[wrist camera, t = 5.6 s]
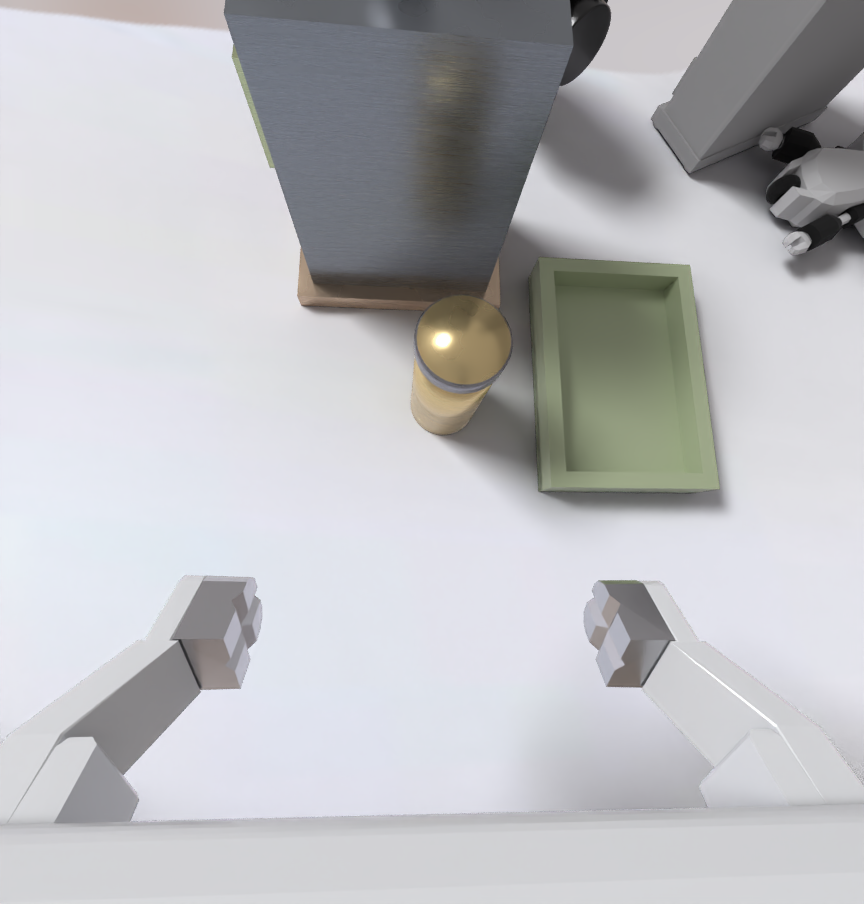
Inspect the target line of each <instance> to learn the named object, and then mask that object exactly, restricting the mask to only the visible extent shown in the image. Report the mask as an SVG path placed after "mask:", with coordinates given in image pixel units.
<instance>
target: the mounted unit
mask: <svg viewBox="0 0 864 904" xmlns="http://www.w3.org/2000/svg"><path fill="white" fill-rule="evenodd" d="M224 15H225V18H226V21H227V24H228V27H229V31H230V34H231V37H232V40H233V43H234V45H233V53H232V59H233V62H234V65H235V68H236V70H237V73H238V76H239V79H240V82H241V85H242V88H243V91H244V94H245V97H246V99H247V102H248V105H249V108H250V111H251V114H252V117H253V120H254V123H255V126H256V129H257V131H258V134H259V137H260V140H261V143H262V146H263V149H264V152H265V155H266V158H267V160H268V163H269V166H270V168H275V169H276V172H277V176H278V179H279V182H280V185H281V188H282V191H283V194H284V197H285V200H286V203H287V206H288V209H289V212H290V215H291V218H292V221H293V224H294V227H295V230H296V233H297V236H298V239H299V242H300V245H301V252H300V266H299V280H298V294H297V296H298V299H299V301H300V304H301V305H304V306H327V307H351V308H374V309H398V310H421V311H425V310H426V309H427V308H428V307H429V306H430V305H431V304H433V303H434V302H436V301H437V300H439V299H442V298H444V297H447V296H451V295H471V296H475V297H478V298H481V299H483V300H485V301H487V302H489V303H490V304H492V305H493V306H495V307H496V308H497V309H499V307H500V278H499V254H500V251H501V248H502V245H503V242H504V240H505V237H506V234H507V231H508V228H509V226H510V223H511V220H512V217H513V214H514V212H515V209H516V206H517V203H518V200H519V198H520V195H521V192H522V189H523V186H524V184H525V181H526V178H527V175H528V172H529V169H530V167H531V164H532V161H533V158H534V155H535V153H536V150H537V147H538V144H539V141H540V139H541V136H542V133H543V130H544V127H545V125H546V122H547V119H548V116H549V113H550V111H551V108H552V105H553V102H554V99H555V97H556V94H557V91H558V88H559V85H560V83H561V80H562V77H563V74H564V71H565V68H566V66H567V63H568V60H569V57H570V54H571V52H572V49H573V46H574V45H573V32H572V20H571V8H570V0H226V1H225V9H224Z"/></svg>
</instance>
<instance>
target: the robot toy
mask: <svg viewBox="0 0 864 904" xmlns="http://www.w3.org/2000/svg"><path fill="white" fill-rule="evenodd" d="M758 143H759V147H760V148H762V149H763V150H765V151H771V150H774V151H773V154H772V159H775V160H778V161H781V162H784V163H787V164H788V165H787V166H786V167H785V168H784V169H783V171H782V172H781V173H780V174H779V175H778V176H777V177H776V178H775V179H774V180H773V181H772V182H771V183H770V184H769V185H768V188H767V191H766V198H767V200H768V201H769V202H770V203H771V204H774V205H773V206H772V207H771V208H770V211H771V212H772V213H773V214H774V215H775V217H777V218H781V219H785V220H788V221H789V223H790V224H791V226H792V227H801V228H799V229H798V230H797V232H793V233H790V234H789V235H788V236H787V237H785V239H784V241H783V245H784V247H785V248H786V247H787V246H789V245H792V248H791V249H790V250H788V252H789V253H790V254H791V255H793V256H794V255H798V254H802V253H806V252H807V251H809V250H811V249H814V248H816V247H817V246H819V245H821V244H823V243H825V242H827V241H829V240H831V239H832V238H833V237H834V236H835V235H836V234H837V233H838V232H839V230H840V229H841V227H842V228H843V229H845V228H847V227H849V226H851V225H853V224H854V226H855V227H856V229H857V230H858V232H859V233H860V234H861V236H862V237H863V238H864V133H863V134H861V135H860V137H858V138H857V139H856V140H855V141H854V142H853V143H852V144H851V145H850V146H849V147H848V148H843V147H840V146H837V147H835V148H821V146H820V144H819V142H818V140H817V138H816V137H815V135H814V133H811V132H808V131H805V130H802V129H799V128H795V127H791V128H790V129H789V130H788V131H787V132H786V133H785V134H783V133H782V132H781V131H780V130H779V129H778V128H773V127H769V128H767V129H765V130H764V131H763V132H762V134H761V136H760V140H759V142H758Z"/></svg>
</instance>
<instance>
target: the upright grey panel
mask: <svg viewBox="0 0 864 904" xmlns="http://www.w3.org/2000/svg"><path fill="white" fill-rule="evenodd" d="M863 68H864V0H733V1H732V2H731V4H730V6H729V7H728V9H727V10H726V12H725V14H724V15H723V17H722V19H721V20H720V22H719V23H718V25H717V27H716V28H715V30H714V31H713V33H712V35H711V36H710V38H709V39H708V41H707V43H706V44H705V46H704V48H703V49H702V51H701V52H700V54H699V55H698V57H695V58H694V59H693V61H692V62H691V64H690V66H689V67H688V69H687V70H686V72H685V74H684V75H683V77H682V79H681V80H680V82H679V83H678V85H677V87H676V88H675V90H674V92H673V93H672V94H673V95H674V96H673V97H672V99H671V100H670V101H669V102H666V103H664V104H661V105H659V106H658V108H657V109H656V111H655V113H654V114H653V116H652V118H651V120H652V121H653V122H654V127H655V128H656V129H658V130H659V131H660V132H661V134H662V135H663V137H664V138H665V140H666V141H667V142H668V144H669V145H670V147H671V148H672V150H673V151H674V152H675V154H676V155H677V157H678V158H679V160H680V161H681V163H682V164H683V165H684V169H685V171H687V172H688V173H689V174H690V173H693V172H694V171H697V170H699V169H701V168H704V167H706V166H708V165H711V164H713V163H715V162H718V161H720V160H722V159H725V158H727V157H729V156H732V155H734V154H736V153H739V152H741V151H743V150H746V149H748V148H750V147H753V146H755V145H757V144H759V143H758V142H759V140H760V136H761V134H762V132H763V131H764V130H765V129H767V128H769V127H773V128H778V129H779V130H780V131H781V132H782V133H785V132H787V131H788V130H789V129H790V128H791V127H795V128H797V127H799V126H802V125H804V124H806V123H809V122H811V121H813V120H815V119H816V118H817V117H818V116H819V115H820V114H821V113H822V112H823V111H824V110H825V109H826V108H827V106H826V105H827V104H828V103H829V102H830V101H831V100H832V99H833V98H834V97H835V96H836V95H837V94H838V93H839V92H840V91H841V90H842V89H843V88H844V87H845V86H846V85H847V84H848V83H849V82H850V81H851V80H852V79H853V78H854V77H855V76H856V75H857V74H858V73H859V72H860V71H861V70H862V69H863Z"/></svg>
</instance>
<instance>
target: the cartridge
mask: <svg viewBox="0 0 864 904" xmlns="http://www.w3.org/2000/svg"><path fill="white" fill-rule="evenodd" d="M512 344H513V340H512V334H511V330H510V327H509V324H508V322H507V321H506V319H505V317H504V316H503V315H502V313H501V312H500V311H499V310H498V309H497V308H496V307H495V306H493V305H492V304H490V303H489V302H487V301H485V300H483V299H481V298H478V297H475V296H471V295H451V296H447V297H444V298H442V299H439V300H437V301H436V302H434V303H433V304H431V305H430V306H429V307H428V308H427V309H426V310H425V311H424V312H423V314H422V315H421V317H420V318H419V320H418V323H417V326H416V330H415V338H414V355H415V361H414V371H413V382H412V393H411V411H412V414H413V416H414V418H415V420H416V421H417V423H418V424H419V425H420V426H421V427H422V428H424V429H425V430H427V431H429V432H431V433H434V434H438V435H448V434H452V433H455V432H457V431H459V430H461V429H462V428H464V427H465V426H466V425H467V423H468V422H469V421H470V419H471V417H472V416H473V414H474V413H475V411H476V409H477V408H478V406H479V404H480V403H481V401H482V400H483V398H484V396H485V395H486V393H487V392H488V390H489V388H490V387H491V385H492V383H493V382H494V381H495V380H496V379H497V378H498V377H499V376H500V374H501V373H502V371H503V370H504V368H505V366H506V365H507V363H508V361H509V359H510V356H511V353H512Z"/></svg>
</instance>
